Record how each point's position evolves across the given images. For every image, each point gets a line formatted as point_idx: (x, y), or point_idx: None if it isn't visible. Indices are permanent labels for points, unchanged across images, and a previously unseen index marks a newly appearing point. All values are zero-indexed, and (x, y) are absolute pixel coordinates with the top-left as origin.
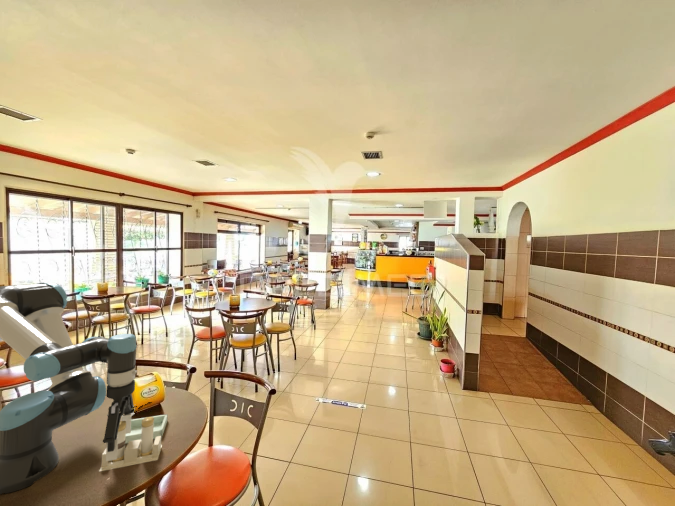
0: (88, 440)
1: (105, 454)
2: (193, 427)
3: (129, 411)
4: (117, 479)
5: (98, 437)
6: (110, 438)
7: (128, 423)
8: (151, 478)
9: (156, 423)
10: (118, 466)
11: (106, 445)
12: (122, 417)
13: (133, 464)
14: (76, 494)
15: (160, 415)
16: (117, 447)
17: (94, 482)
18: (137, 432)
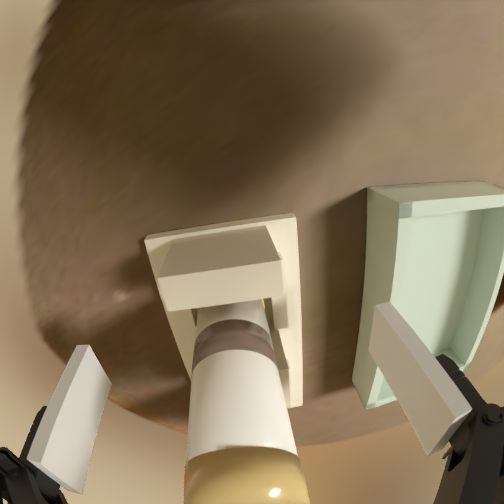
0: (449, 57)
1: (165, 295)
2: (375, 423)
3: (444, 477)
4: (116, 329)
5: (462, 96)
6: (3, 497)
7: (401, 394)
8: (131, 411)
9: (458, 323)
10: (175, 316)
11: (38, 427)
12: (446, 411)
13: (185, 365)
14: (39, 211)
15: (475, 349)
16: (92, 436)
17: (96, 246)
18: (437, 278)
